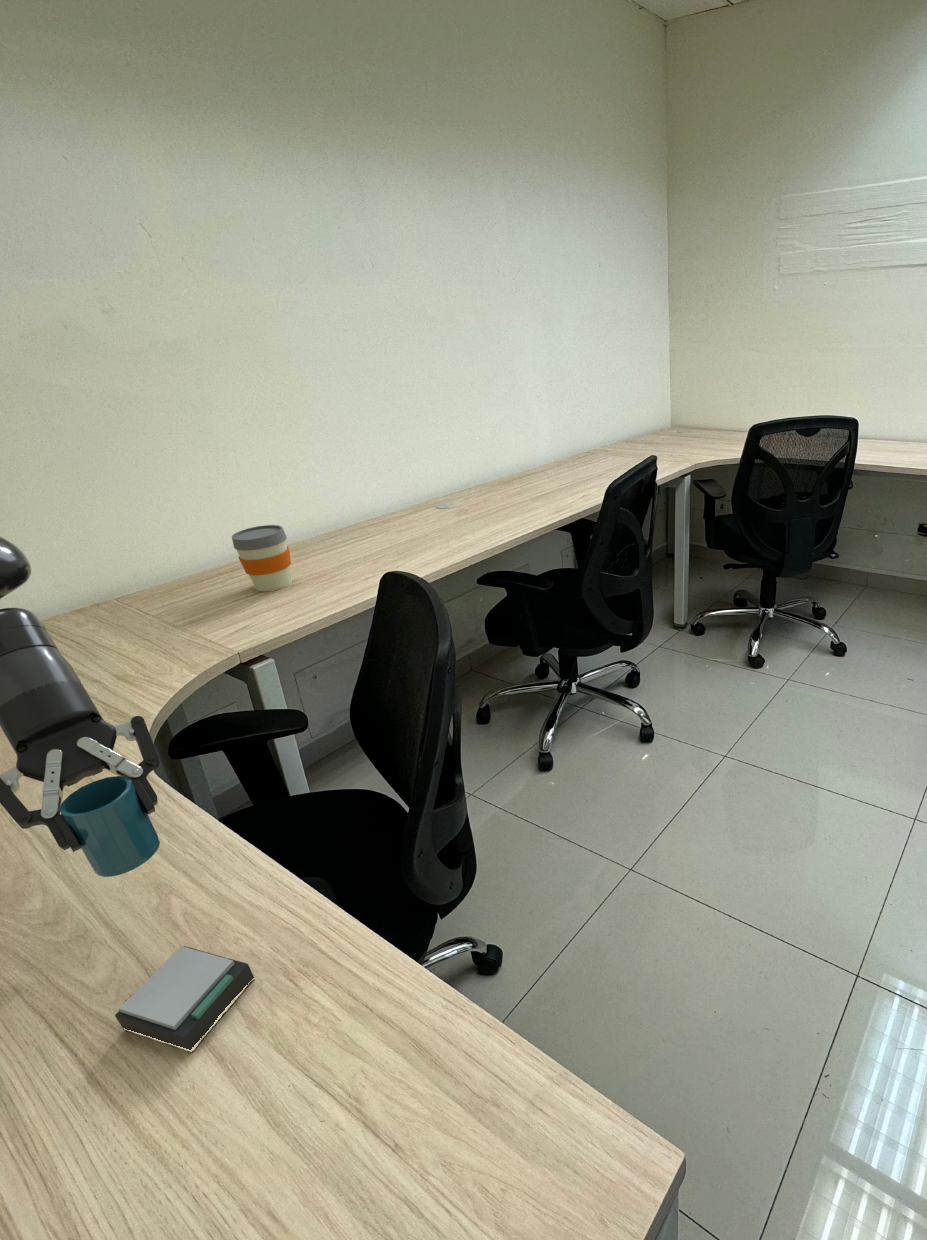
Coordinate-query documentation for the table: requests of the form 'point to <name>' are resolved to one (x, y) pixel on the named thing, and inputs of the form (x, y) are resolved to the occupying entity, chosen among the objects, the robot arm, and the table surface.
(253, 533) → the reusable coffee cup
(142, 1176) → the table surface
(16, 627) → the robot arm
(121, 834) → the ceramic cup
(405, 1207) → the table surface
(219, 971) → the scale
